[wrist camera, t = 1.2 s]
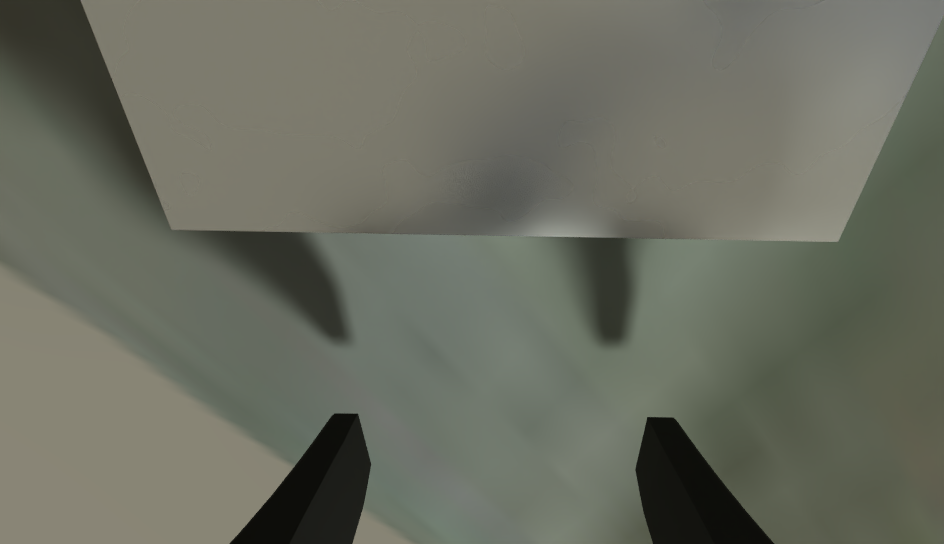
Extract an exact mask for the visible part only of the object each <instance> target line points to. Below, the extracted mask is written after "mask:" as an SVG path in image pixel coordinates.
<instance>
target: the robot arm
mask: <svg viewBox="0 0 944 544" xmlns="http://www.w3.org/2000/svg"><path fill="white" fill-rule="evenodd" d="M370 467H371V462H370V458H369V454H368V451H367V447H366V443H365V439H364V435H363V431H362V427H361V423H360V419H359V416H358V414H334V415H333V416H331V418H330V419H329V421H328V422H327V423H326V425H325V426H324V428H323V429H322V430H321V432H320V433H319V434H318V436H317V437H316V439H315V440H314V441H313V443H312V444H311V445H310V447H309V448H308V449H307V451H306V452H305V453H304V455H303V456H302V457H301V459H300V460H299V461H298V463H297V464H296V465H295V467H294V468H293V469H292V470H291V472H290V473H289V474H288V476H287V477H286V478H285V479H284V481H283V482H282V483H281V484H280V486H279V487H278V488H277V489H276V491H275V492H274V493H273V495H272V496H271V497H270V498H269V499H268V500H267V502H266V503H265V504H264V505H263V506H262V508H261V509H260V510H259V511H258V512H257V513H256V514H255V516H254V517H253V518H252V519H251V520H250V521H249V523H248V524H247V525H246V526H245V527H244V528H243V529H242V530H241V532H240V533H239V534H238V535H237V536H236V537H235V538H234V539H233V540H232V541H231V543H230V544H352V543H353V539H354V536H355V533H356V529H357V526H358V523H359V519H360V516H361V512H362V509H363V505H364V500H365V495H366V490H367V484H368V479H369V473H370ZM635 470H636V475H637V480H638V486H639V491H640V496H641V501H642V506H643V511H644V515H645V518H646V522H647V525H648V528H649V532H650V535H651V538H652V542H653V544H774V543H773V542H772V541H771V539H770V538H769V537H768V536H767V535H766V534H765V533H764V531H763V530H762V529H761V528H760V527H759V526H758V525H757V523H756V522H755V521H754V520H753V519H752V518H751V516H750V515H749V514H748V513H747V512H746V511H745V509H744V508H743V507H742V506H741V504H740V503H739V502H738V501H737V499H736V498H735V497H734V496H733V495H732V493H731V492H730V491H729V490H728V488H727V487H726V486H725V485H724V484H723V482H722V481H721V480H720V478H719V477H718V476H717V475H716V473H715V472H714V471H713V469H712V468H711V467H710V465H709V464H708V463H707V462H706V460H705V459H704V458H703V456H702V455H701V454H700V452H699V451H698V450H697V448H696V447H695V445H694V444H693V443H692V441H691V440H690V439H689V437H688V436H687V434H686V433H685V432H684V430H683V429H682V427H681V426H680V425H679V423H678V422H677V421H676V420H675V419H674V418H665V417H647V422H646V426H645V430H644V435H643V439H642V443H641V448H640V452H639V456H638V461H637V465H636V469H635Z"/></svg>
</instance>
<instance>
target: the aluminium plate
mask: <svg viewBox="0 0 944 544" xmlns="http://www.w3.org/2000/svg"><path fill="white" fill-rule="evenodd" d="M81 3H82V5H83V8H84V10H85V13H86V15H87V18H88V20H89V23H90V25H91V28H92V30H93V33H94V36H95V38H96V41H97V43H98V46H99V48H100V51H101V53H102V56H103V58H104V61H105V63H106V66H107V68H108V71H109V73H110V76H111V78H112V81H113V83H114V86H115V89H116V91H117V94H118V96H119V99H120V101H121V104H122V106H123V109H124V111H125V114H126V116H127V119H128V121H129V124H130V126H131V129H132V131H133V134H134V136H135V139H136V141H137V144H138V147H139V149H140V152H141V154H142V157H143V159H144V162H145V164H146V167H147V169H148V172H149V174H150V177H151V179H152V182H153V184H154V187H155V189H156V192H157V194H158V197H159V200H160V202H161V205H162V207H163V210H164V212H165V215H166V217H167V220H168V222H169V225H170V227H171V230H211V231H266V232H322V233H377V234H433V235H488V236H544V237H599V238H655V239H710V240H766V241H821V242H838V241H839V238H840V236H841V234H842V232H843V230H844V228H845V226H846V223H847V221H848V219H849V217H850V215H851V213H852V211H853V208H854V206H855V204H856V202H857V200H858V198H859V196H860V193H861V191H862V189H863V187H864V185H865V183H866V181H867V178H868V176H869V174H870V172H871V170H872V168H873V166H874V163H875V161H876V159H877V157H878V155H879V153H880V151H881V148H882V146H883V144H884V142H885V140H886V138H887V136H888V133H889V131H890V129H891V127H892V125H893V123H894V121H895V119H896V116H897V114H898V112H899V110H900V108H901V106H902V104H903V101H904V99H905V97H906V95H907V93H908V91H909V89H910V86H911V84H912V82H913V80H914V78H915V76H916V74H917V71H918V69H919V67H920V65H921V63H922V61H923V59H924V56H925V54H926V52H927V50H928V48H929V46H930V44H931V41H932V39H933V37H934V35H935V33H936V31H937V29H938V26H939V24H940V22H941V20H942V18H943V16H944V0H81Z"/></svg>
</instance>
